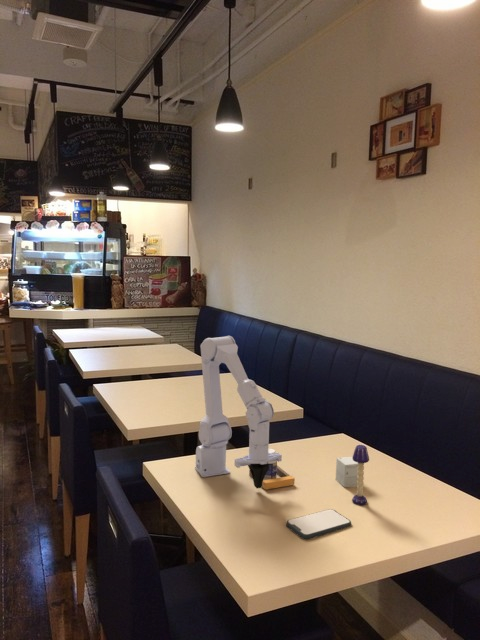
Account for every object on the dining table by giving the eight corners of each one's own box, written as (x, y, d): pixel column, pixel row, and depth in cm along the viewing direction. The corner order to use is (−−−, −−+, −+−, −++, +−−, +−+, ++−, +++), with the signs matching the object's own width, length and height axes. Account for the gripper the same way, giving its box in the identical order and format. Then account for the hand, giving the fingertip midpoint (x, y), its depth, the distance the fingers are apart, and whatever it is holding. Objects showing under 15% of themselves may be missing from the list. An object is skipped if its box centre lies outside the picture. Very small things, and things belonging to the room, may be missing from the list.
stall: (261, 487, 156) (261, 481, 155) (249, 475, 164) (249, 469, 164) (290, 482, 160) (290, 476, 159) (276, 471, 168) (277, 465, 168)
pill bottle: (275, 482, 160) (276, 454, 159) (258, 480, 161) (259, 453, 160) (277, 475, 165) (278, 448, 164) (261, 473, 166) (262, 447, 165)
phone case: (331, 513, 142) (283, 526, 134) (331, 507, 142) (284, 520, 134) (353, 528, 135) (304, 542, 126) (353, 522, 134) (305, 536, 126)
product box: (343, 487, 157) (344, 464, 156) (334, 479, 163) (336, 457, 162) (361, 486, 159) (363, 463, 158) (352, 477, 164) (353, 455, 164)
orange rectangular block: (265, 489, 153) (265, 483, 153) (262, 486, 155) (262, 480, 155) (294, 484, 158) (294, 478, 157) (291, 481, 159) (291, 475, 159)
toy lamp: (363, 507, 145) (366, 450, 143) (347, 503, 147) (350, 446, 145) (369, 501, 149) (372, 445, 147) (353, 496, 151) (356, 442, 149)
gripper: (241, 450, 145) (240, 496, 146) (287, 444, 150) (285, 488, 152) (232, 442, 151) (231, 486, 153) (276, 436, 157) (274, 479, 158)
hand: (257, 486), depth 153 cm, fingers closed
